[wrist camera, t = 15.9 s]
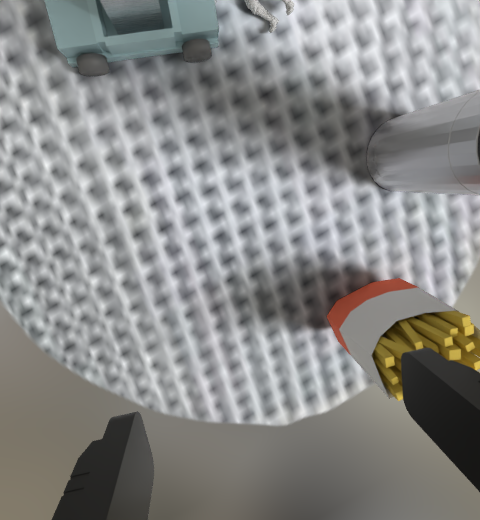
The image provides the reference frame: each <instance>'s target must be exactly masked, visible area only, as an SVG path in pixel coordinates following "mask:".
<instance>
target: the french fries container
mask: <svg viewBox="0 0 480 520" xmlns="http://www.w3.org/2000/svg"><path fill="white" fill-rule="evenodd" d="M327 318H328V320H329V323H330V325H331V327H332V329H333V331H334V333H335V336H336V338H337V340H338V342H339V343H340V344H341V345H342V346H343V347H344V348H345V349H346V351H347V352H348V353H349V354H350V355H351V356H352V357H353V358H354V360H355V361H356V362H357V363H358V364H359V365H360V366H361V367H362V369H363V370H364V371H365V372H366V373H367V374H368V375H369V376H370V378H371V379H372V380H373V381H374V382H375V383H376V384H377V385H378V387H379V388H380V389H381V390H382V391H383V392H384V393H385V394H386V396H387V397H388V398H389V399H390V398H392V397H395V398H396V399H397V400H398V401H400V400H402V399H403V391H402V371H401V356H402V354H403V353H405V352H409V351H414V350H418V349H423V348H431V349H433V350H434V351H435V352H437V353H438V354H440V355H441V356H443V357H444V358H445V359H447V360H448V361H449V360H453V361H455V362H458V363H461V364H463V365H466V366H468V367H471V368H473V369H474V370H478V369H480V358H478V357H477V356H479V357H480V330H479V329H478V328H476V327H475V326H474V324H472V323H471V322H470V316H468V315H466V314H462V313H460V312H459V311H457V310H456V309H454V308H452V307H451V306H449V305H447V304H446V303H444V302H442V301H441V300H439V299H437V298H436V297H434V296H432V295H431V294H429V293H427V292H425V291H424V290H422V289H420V288H419V287H417V286H415V285H412V284H410V283H408V282H406V281H404V280H402V279H400V278H398V279H391V280H385V281H378V282H372V283H370V284H368V285H366V286H364V287H362V288H360V289H358V290H356V291H354V292H352V293H350V294H349V295H347V296H345V297H343V298H341V299H339V300H337V301H336V303H335V304H334V306H333V308H332V309H331V311H330V312H329V314H328V315H327ZM474 354H475V355H477V356H475V355H474Z"/></svg>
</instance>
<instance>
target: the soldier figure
mask: <svg viewBox="0 0 480 520" xmlns="http://www.w3.org/2000/svg"><path fill="white" fill-rule="evenodd" d="M215 1H216V2H217V0H214V2H215ZM282 1H283V2H284V3H285V5H286V9H287V11H286V13H287V15H289V14H291V13H292V12H293V10H294V9H293V7H294V3H293V2H292V1H291V0H282ZM245 3H246V5H247V7H248V9H250V10H251V11H252V12H253V14H257V15H259V16H261V17H263V18H264V19H266V20H268V21H269V22H270V30H269V32H270V33H272V32H273V31H274V30H275V29H276V25H277V23H278V21H279V20H278V19H277V18H276V17H273V16H272V15H271V14H270V13H269V12H268V11H267V10H266V9H265V8H264V7H263V6H262V5H261V4H260V3H259V2H258V0H245ZM215 4H216V3H215Z"/></svg>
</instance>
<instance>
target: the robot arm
mask: <svg viewBox="0 0 480 520" xmlns="http://www.w3.org/2000/svg"><path fill="white" fill-rule="evenodd" d="M367 166H368V170H369V172H370V175H371V177H372V178H373V180H374V181H375V182H376V183H377V184H378V185H379V186H381V187H382V188H384V189H386V190H390V191H397V192H414V193H438V194H461V195H480V90H477V91H474V92H471V93H468V94H465V95H462V96H459V97H456V98H453V99H450V100H447V101H444V102H441V103H438V104H435V105H432V106H429V107H426V108H423V109H420V110H417V111H413V112H410V113H407V114H404V115H401V116H398V117H395V118H393V119H390V120H388V121H387V122H385V123H384V124H382V125H381V126H380V127H379V128H378V129H377V130H376V132H375V133H374V135H373V136H372V138H371V140H370V143H369V146H368V150H367ZM401 371H402V391H403V400H404V403H405V406H406V409H407V411H408V412H409V414H410V416H411V417H412V418H413V419H414V420H415V421H416V423H417V424H418V425H419V426H420V427H421V428H422V429H423V430H424V431H425V433H427V435H428V436H429V437H430V438H431V439H432V440H433V441H434V442H435V443H436V445H437V446H438V447H439V448H440V449H441V450H442V451H443V452H444V453H445V454H446V456H447V457H448V458H449V459H450V460H451V461H452V462H453V463H454V464H455V465H456V467H458V469H459V470H460V471H461V472H462V473H463V474H464V475H465V476H466V477H467V479H468V480H469V481H470V482H471V483H472V484H473V485H474V486H475V487H476V488H477V489H478V490H479V492H480V373H479V372H477V371H476V370H474V369H473V368H471V367H468V366H466V365H463V364H461V363H458V362H455V361H453V360H449V361H448V360H447V359H445V358H444V357H443V356H441V355H440V354H438V353H437V352H435V351H434V350H433V349H431V348H423V349H418V350H414V351H409V352H405V353H403V354H402V356H401ZM153 479H154V465H153V457H152V452H151V449H150V445H149V442H148V438H147V435H146V431H145V428H144V424H143V420H142V417H141V415H140V413H139V412H134V413H129V414H125V415H121V416H116V417H112V418H111V419H110V420H109V423H108V425H107V428H106V431H105V434H104V436H103V439H101V440H96V441H93V442H92V443H91V444H90V445H89V446H88V448H87V449H86V450H85V451H84V452H83V453H82V455H81V456H80V457H79V458H78V460H77V463H76V465H75V467H74V470H73V472H72V474H71V480H69V481H68V483H67V486H66V488H65V491H64V496H62V497H61V500H60V502H59V504H58V507H57V509H56V511H55V513H54V516H53V518H52V520H148V513H149V507H150V500H151V493H152V486H153Z"/></svg>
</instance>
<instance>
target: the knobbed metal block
mask: <svg viewBox="0 0 480 520" xmlns="http://www.w3.org/2000/svg"><path fill="white" fill-rule="evenodd" d="M100 1H101V3H102V5H103V7H104V9H105V11H106V13H107V15H108V16H109V18H110V20H111V22H112V24H113V26H114V28H115V30H116V31H117V33H118V35H123V34H130V33H138V32H146V31H153V30H161V29H164V24H163V19H162V14H161V8H160V3H159V0H100Z"/></svg>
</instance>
